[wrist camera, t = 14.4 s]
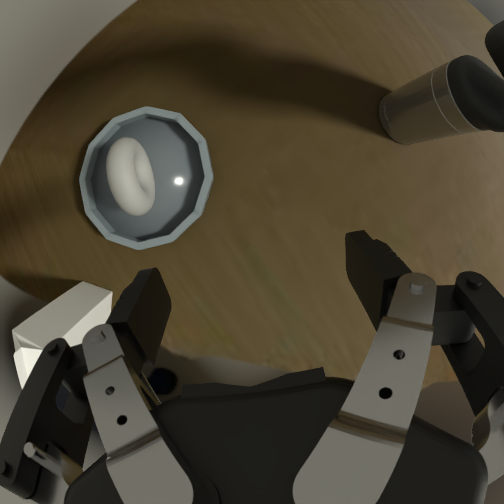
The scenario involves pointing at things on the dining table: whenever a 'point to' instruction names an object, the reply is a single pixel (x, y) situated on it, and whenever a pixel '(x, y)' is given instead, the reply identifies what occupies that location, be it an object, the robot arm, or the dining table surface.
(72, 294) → the milk
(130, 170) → the donut
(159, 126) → the bowl
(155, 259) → the dining table surface
